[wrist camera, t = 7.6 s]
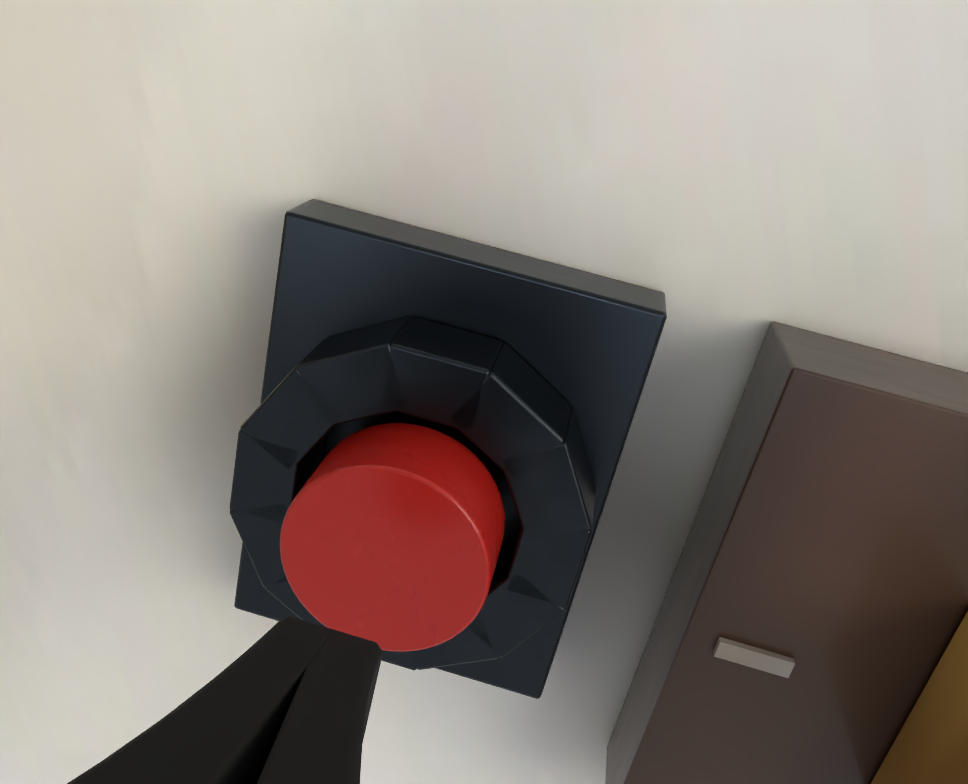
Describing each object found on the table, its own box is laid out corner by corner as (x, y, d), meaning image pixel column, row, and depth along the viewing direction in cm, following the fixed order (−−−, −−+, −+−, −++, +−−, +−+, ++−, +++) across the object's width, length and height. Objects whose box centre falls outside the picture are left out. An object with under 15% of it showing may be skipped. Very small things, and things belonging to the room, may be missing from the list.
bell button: (329, 397, 15) (293, 440, 14) (527, 453, 15) (513, 503, 13) (302, 562, 17) (266, 618, 15) (481, 616, 16) (464, 678, 15)
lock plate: (1323, 467, 15) (1451, 548, 13) (1028, 874, 20) (1083, 991, 17) (771, 320, 16) (794, 371, 14) (606, 746, 20) (601, 842, 18)
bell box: (311, 197, 17) (246, 229, 14) (666, 292, 16) (671, 344, 13) (258, 572, 20) (198, 656, 17) (546, 658, 20) (531, 758, 17)
